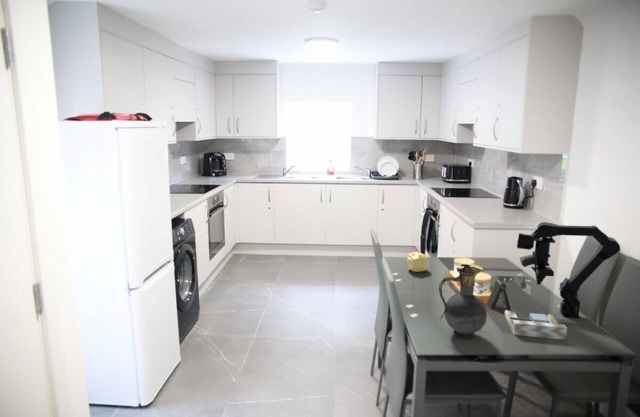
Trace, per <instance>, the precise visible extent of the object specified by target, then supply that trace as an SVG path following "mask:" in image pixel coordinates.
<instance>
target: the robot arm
mask: <svg viewBox="0 0 640 417" xmlns="http://www.w3.org/2000/svg"><path fill="white" fill-rule="evenodd" d="M558 236H572V237H573V236H576V237H577V236H579V237H581V236H583V237H592V238H593V239H594V240H595V241H597V242H598V247H597V248H596V250H595V253H594V254H593V255H592V256H591V257H590V258H589V259H588V260H587V262H586V263H584V265H583V266H582V267H581V268H580V269H579V270H578V271H577V272H576V273H575V274H574V275H573V277H571V278H567V277H565V278H564V279H563V281H562V282H560V283H559V287H558V290H559V294H560V297H561V299H562V300H561V302H560V305H559V313H561V315H562V317H564V318H573V319H574V318H575V319H581V316H580V307H581V306H580V305H581V300H580V297H579V296H580V295H579V294H578V292H579V290H580V288H581V286H582V285H583V284H584V282H585V281H586V280H588V279H589V278H590V276H591V275H592V274H593V273H594V272H595V271H596V270H597V269H598V268H599V267H600V266H601V265H602V264H603V263H604V262H605V261H606V260H608V259H610V258H612V257H613V256H615V255H617V254H618V253H619V252H620V251H621V247H620V246H621V245H620V244H619V243H618V241H617V240H616V239H615V238H614V237H611V236H608V235H607V234H606V233H605V232H603V231H602V230H600V228H599V227H598V226H596V225H561V224H556V223H552V222H546V221H544V222H543V221H542V222H540V223H539V224H537V226H536V229H535V230H534V231H533V232H532V233H531V234H526V233H521V232H519V233H518V239H517V244H516V249H520V250H521V249H522V250H532V249H534V250H533V251H532V253H531V254H529V255H524V256H521V257H520V256H519V260H520V263H521V265H522V267H524V268H525V267H529V266H530V268H531V269H532V270H533V271H534V275H535V280H536V285H538V286H539V285H541V284H542V282H543V281H544V280H545V278H546V277H554V276H555V275H554V274H555V272H554V270H553V269H552V268H551V267H550V263H549V258H551V254H550V248H551V243H552V244H555V243H556V239H555V238H554V237H558ZM534 245H535V247H534Z"/></svg>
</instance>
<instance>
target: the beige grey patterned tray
mask: <svg viewBox="0 0 640 417" xmlns="http://www.w3.org/2000/svg"><path fill="white" fill-rule="evenodd" d="M504 316H505V318H506V321H507V323H508V325H509V327H510V329H511V330H510V331H511V333H513V335H515V336H524V337H534V338H543V339H553V340H563V341H565V340H567V332H568V327H567V326H566V324H562V323H559V322H558V321H557V320H556V319H555V317H554V316H553V315H552V314H547V318H548V319H549V321H550V322H549V323H542V322H531V321H524V320H513V319H510V317H516V318H519V317H518V315H517V313H516V312H515V311H514V310H509V309H505V310H504Z"/></svg>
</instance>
